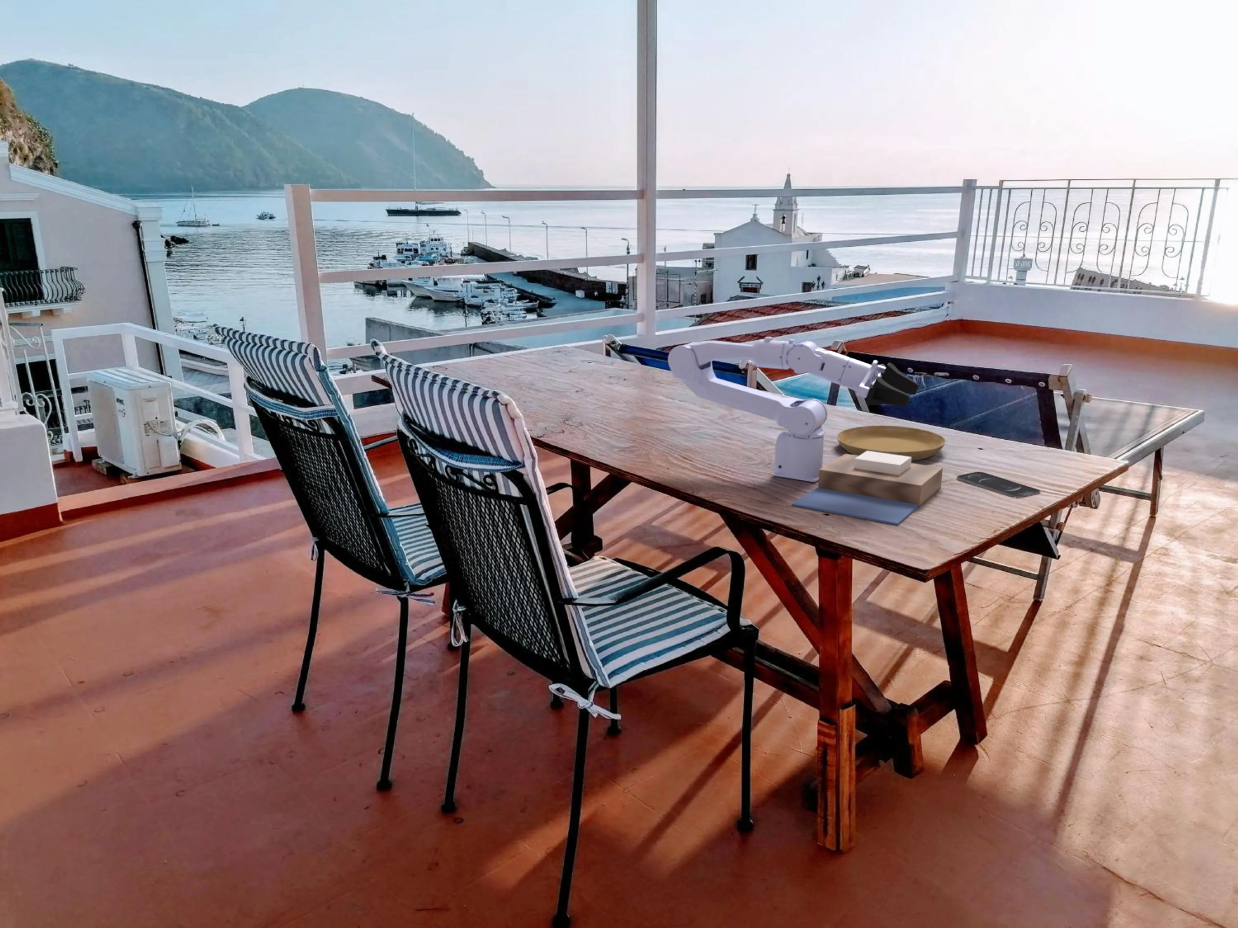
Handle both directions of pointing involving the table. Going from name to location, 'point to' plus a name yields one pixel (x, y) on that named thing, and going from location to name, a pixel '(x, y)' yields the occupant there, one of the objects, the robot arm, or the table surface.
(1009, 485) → the smartphone
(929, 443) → the plant saucer
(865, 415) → the table surface
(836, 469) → the stand
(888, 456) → the tile
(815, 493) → the mat
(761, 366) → the robot arm
